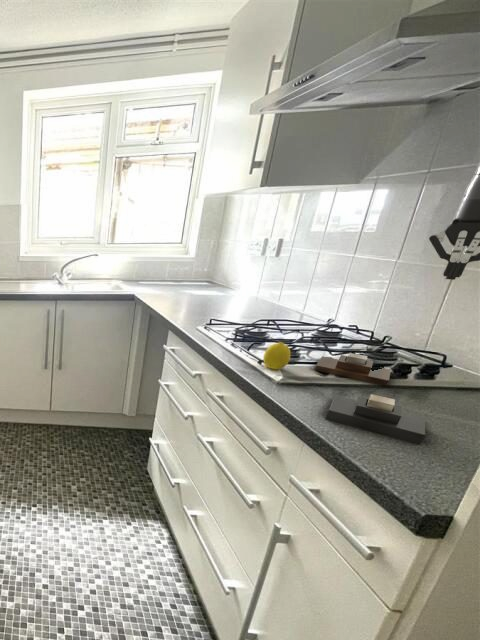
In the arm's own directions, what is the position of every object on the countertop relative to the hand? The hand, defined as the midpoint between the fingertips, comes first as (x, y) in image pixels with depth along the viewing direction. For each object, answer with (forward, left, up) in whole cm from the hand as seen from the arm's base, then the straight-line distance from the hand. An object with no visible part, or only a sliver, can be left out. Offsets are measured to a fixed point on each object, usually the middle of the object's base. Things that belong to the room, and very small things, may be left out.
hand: (449, 278), depth 97 cm
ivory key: (+4, +38, -21) cm, 44 cm away
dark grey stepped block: (+4, +38, -25) cm, 46 cm away
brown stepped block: (+10, +8, -25) cm, 28 cm away
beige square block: (+10, +8, -21) cm, 25 cm away
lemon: (+25, +19, -25) cm, 40 cm away
